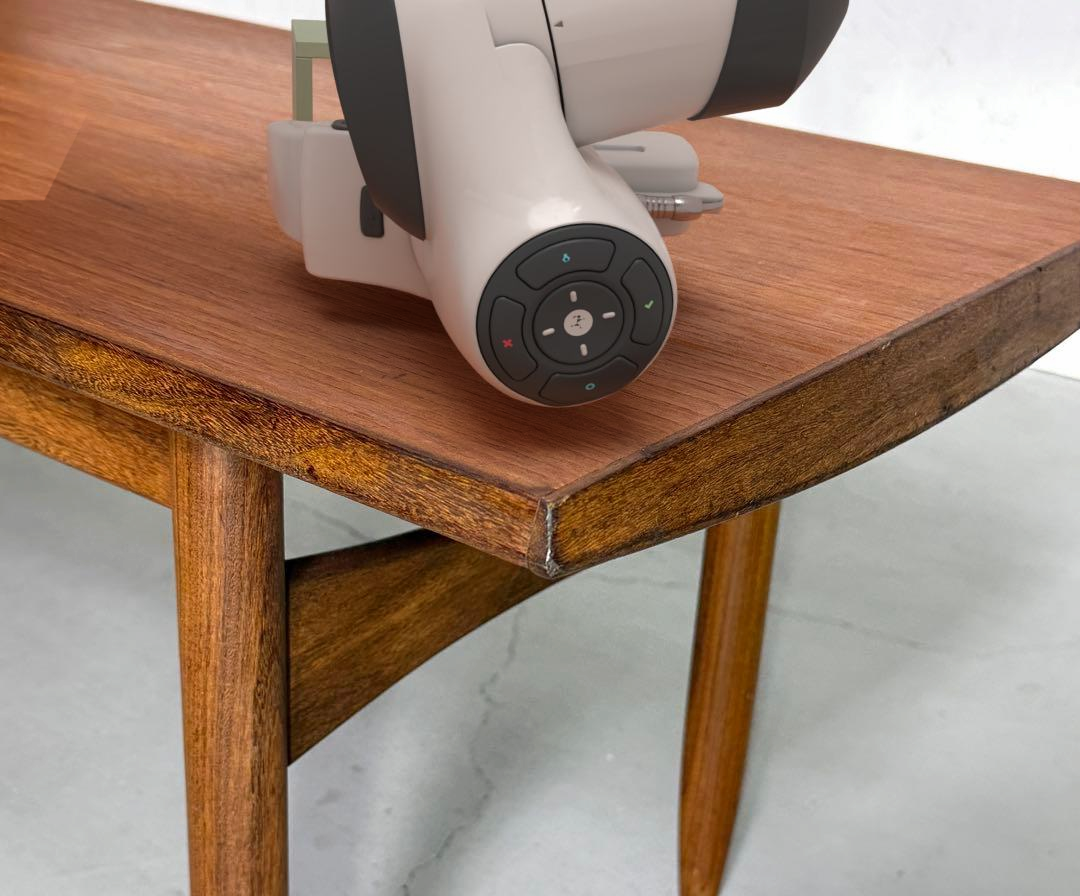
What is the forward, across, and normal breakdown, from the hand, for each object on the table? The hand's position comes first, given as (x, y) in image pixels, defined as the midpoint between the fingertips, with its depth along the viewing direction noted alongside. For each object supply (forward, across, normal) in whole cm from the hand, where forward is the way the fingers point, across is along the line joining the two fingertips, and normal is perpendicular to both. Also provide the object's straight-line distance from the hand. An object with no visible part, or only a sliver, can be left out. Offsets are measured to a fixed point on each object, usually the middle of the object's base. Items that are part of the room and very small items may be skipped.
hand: (464, 141), depth 76 cm
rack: (+24, 0, +7) cm, 25 cm away
